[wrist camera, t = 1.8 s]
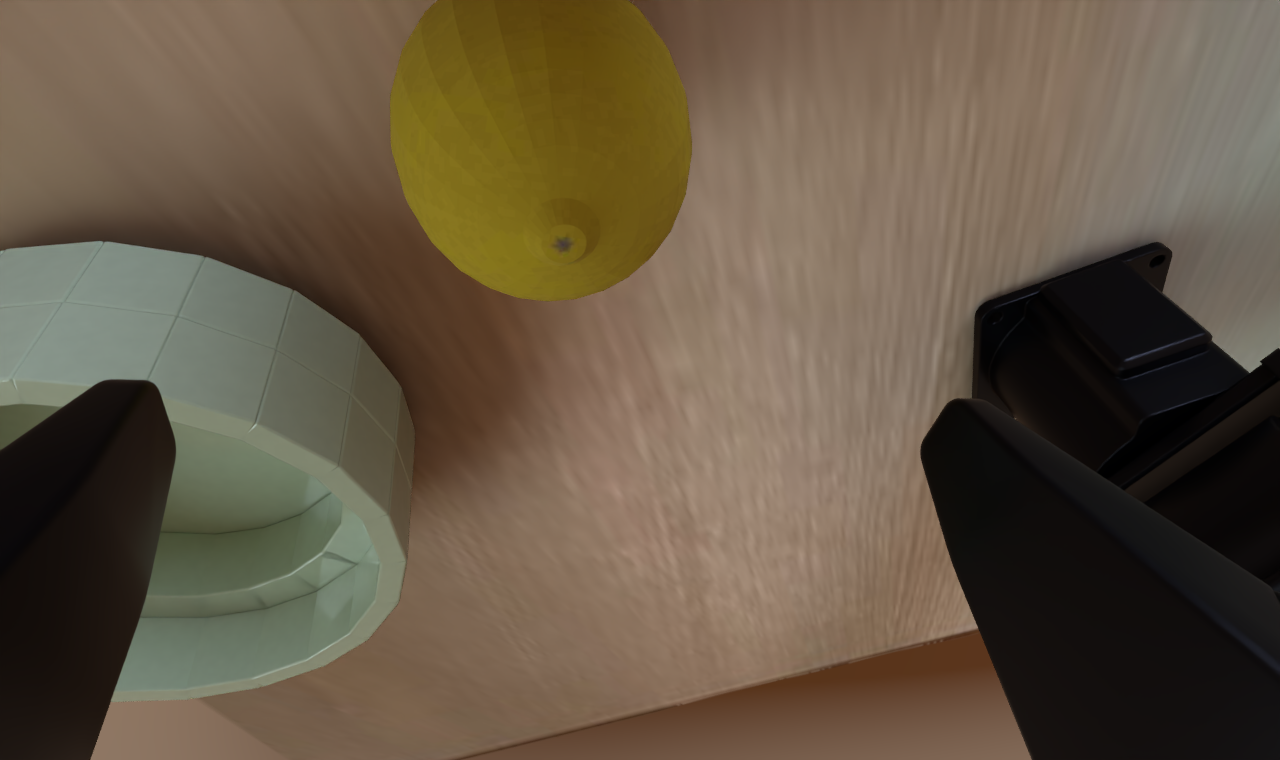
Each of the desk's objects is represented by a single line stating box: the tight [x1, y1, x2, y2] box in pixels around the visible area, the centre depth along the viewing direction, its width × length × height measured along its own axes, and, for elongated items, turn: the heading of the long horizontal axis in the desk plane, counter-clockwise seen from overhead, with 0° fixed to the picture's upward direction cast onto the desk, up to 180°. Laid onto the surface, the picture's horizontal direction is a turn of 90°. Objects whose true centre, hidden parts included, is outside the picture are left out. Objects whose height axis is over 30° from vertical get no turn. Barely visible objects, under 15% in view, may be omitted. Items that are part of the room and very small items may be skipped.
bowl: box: [0, 241, 415, 702], centre depth 20 cm, size 13×13×6 cm
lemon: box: [390, 0, 692, 301], centre depth 14 cm, size 6×6×8 cm
